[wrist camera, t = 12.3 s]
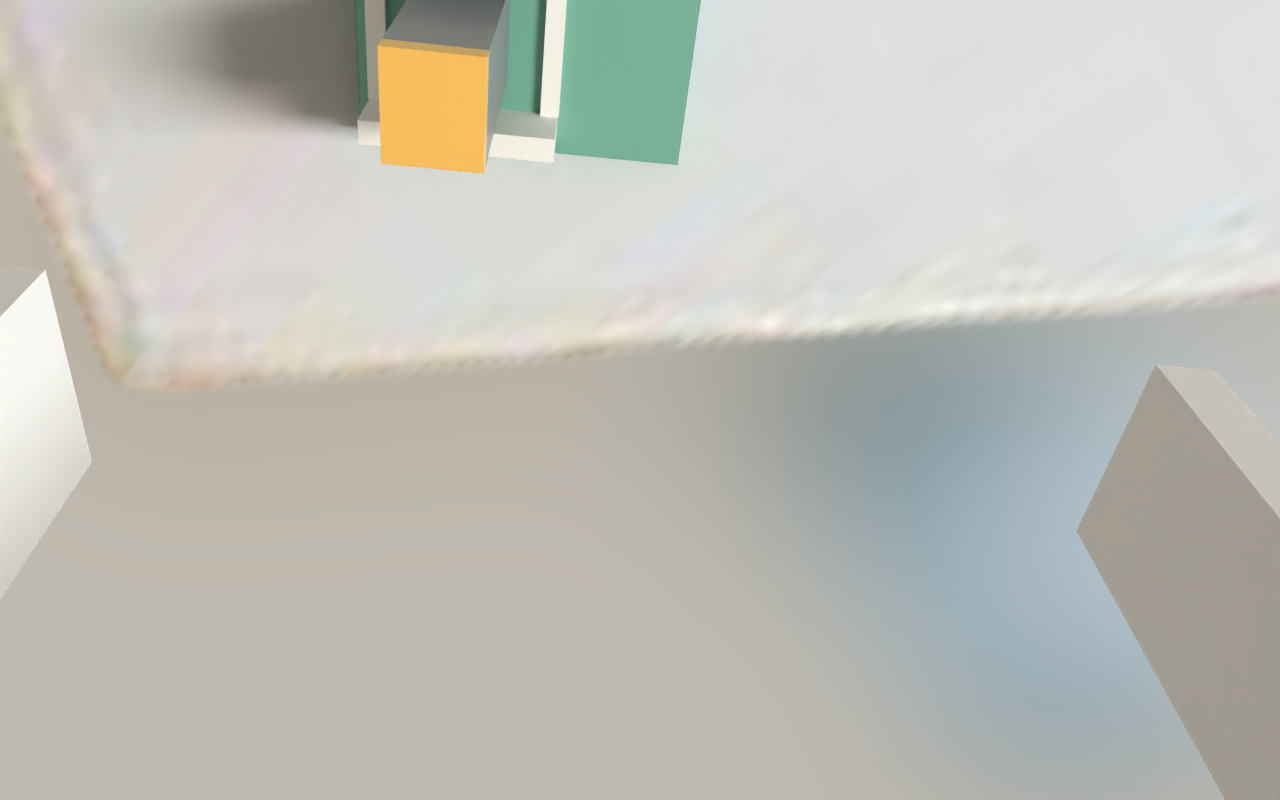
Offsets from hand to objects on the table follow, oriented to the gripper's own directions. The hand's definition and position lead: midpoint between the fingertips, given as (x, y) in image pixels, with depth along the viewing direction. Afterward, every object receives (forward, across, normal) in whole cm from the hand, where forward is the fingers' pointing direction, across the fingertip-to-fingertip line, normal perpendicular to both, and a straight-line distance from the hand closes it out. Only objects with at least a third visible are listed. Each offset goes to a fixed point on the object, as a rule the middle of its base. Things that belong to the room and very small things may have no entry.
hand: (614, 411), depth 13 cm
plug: (+34, -6, -5) cm, 34 cm away
